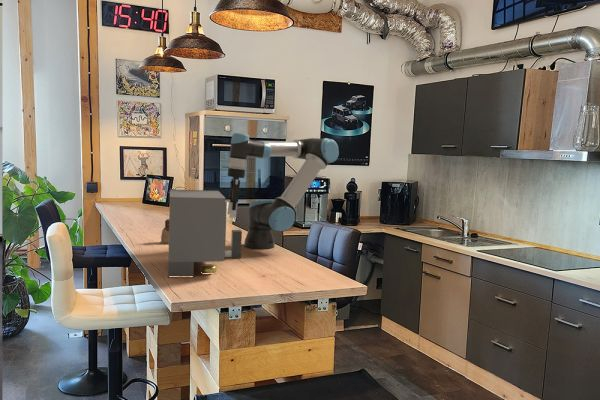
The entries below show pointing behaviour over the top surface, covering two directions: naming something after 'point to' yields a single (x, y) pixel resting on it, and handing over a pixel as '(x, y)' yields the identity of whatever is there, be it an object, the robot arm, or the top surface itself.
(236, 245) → the grey l-shaped bracket
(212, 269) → the gold bowl
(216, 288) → the top surface
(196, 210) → the cabinet
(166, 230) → the figurine
